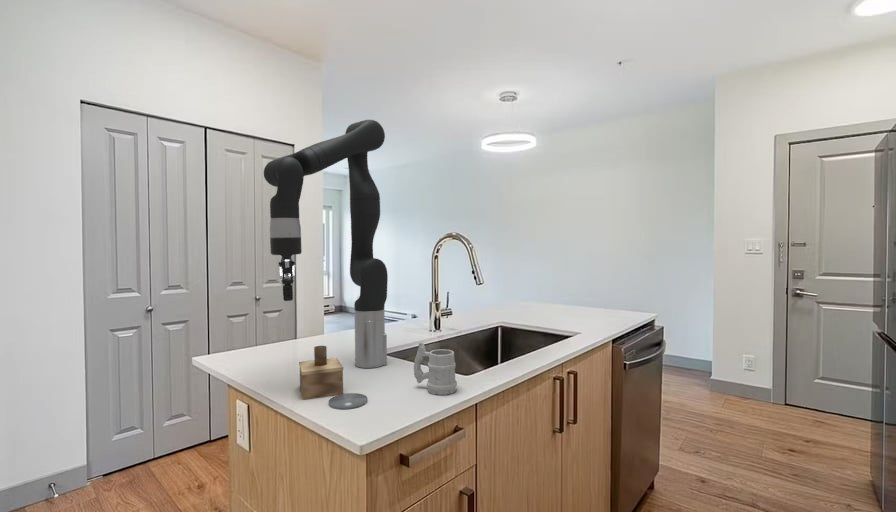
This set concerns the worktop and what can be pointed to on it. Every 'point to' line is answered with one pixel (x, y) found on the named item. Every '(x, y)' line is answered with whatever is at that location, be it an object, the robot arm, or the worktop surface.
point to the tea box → (321, 384)
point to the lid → (320, 363)
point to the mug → (437, 370)
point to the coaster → (348, 401)
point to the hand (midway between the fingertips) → (287, 298)
